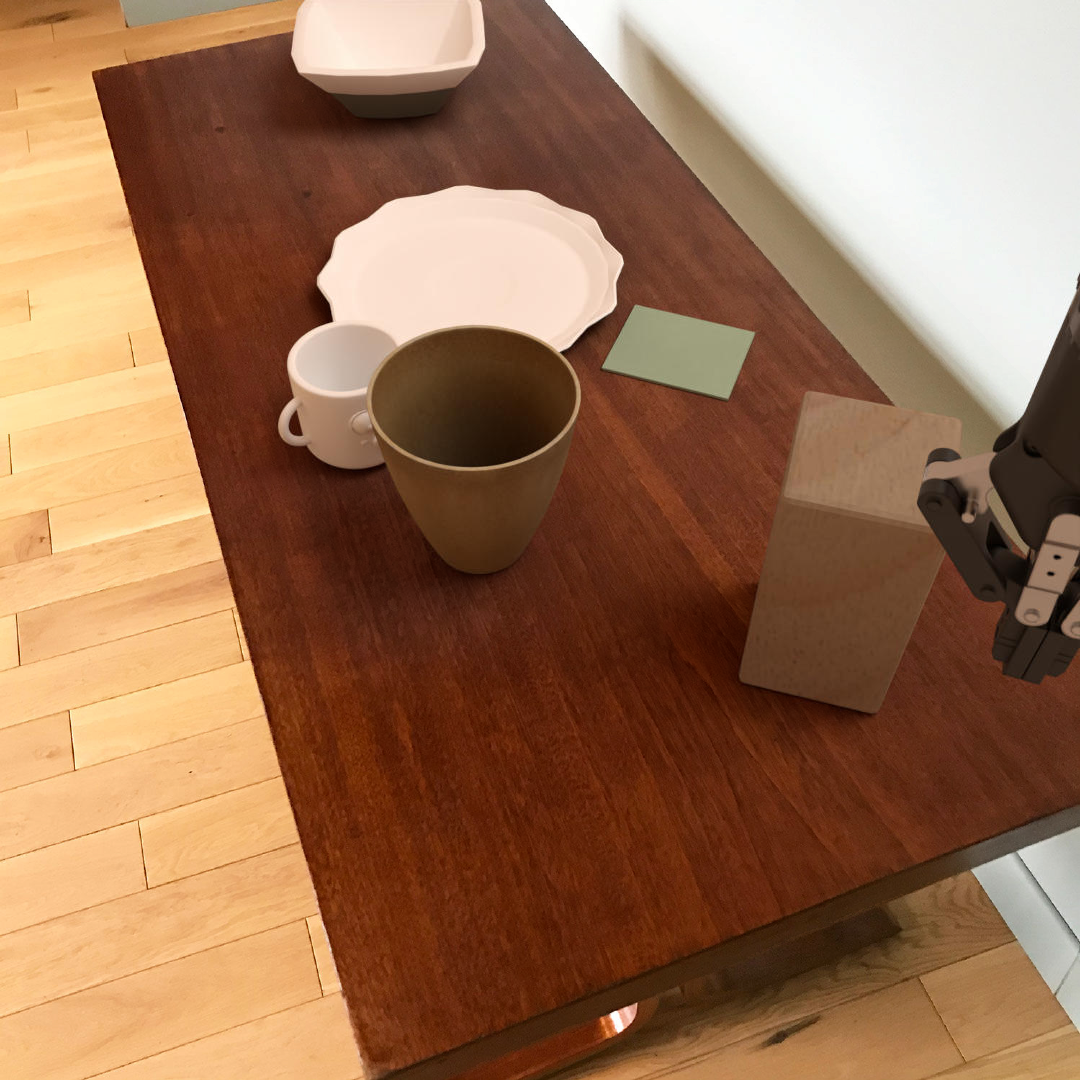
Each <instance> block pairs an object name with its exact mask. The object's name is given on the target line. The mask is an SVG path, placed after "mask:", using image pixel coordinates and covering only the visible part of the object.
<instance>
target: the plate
mask: <svg viewBox="0 0 1080 1080" xmlns="http://www.w3.org/2000/svg"><path fill="white" fill-rule="evenodd" d="M624 266H625V263H624V259H623V255H622V254H621V253H620V252H619V251H618V250H617V249H616V248H615V247H614V246H613V245H612V244H611V243H610V242H609V241H608V240H607V239H606V238H605V236H604V234H603V231H602V229H601V227H600V226H599V224H598V221H597V220H596V219H595V218H593V217H592V216H591V215H589V214H587V213H585V212H582V211H578V210H576V209H573V208H569V207H568V206H567V207H566V206H563V205H561V204H559V203H558V202H556V201H554V200H552V199H551V198H549V197H546V196H545V195H543V194H542V193H540V192H537V191H532V190H528V189H492V188H488V187H487V188H486V187H481V186H480V187H479V186H474V185H455V186H452V187H451V186H450V187H448V188H445V189H442V190H438V191H434V192H432V193H428V194H423V195H414V196H408V197H400V198H395V199H393V200H390V201H388V202H386V203H384V204H383V205H382V206H380V208H378V209H377V210H376V211H374V213H372V214H371V215H369V216H368V217H367V218H365V219H364V220H361V221H360V222H358V223H355V224H354V225H352V226H350V227H348V228H346V229H344V230H342V231H340V233H339V234H338V235H337V236H336V237H335V238H334V242H333V247H332V251H331V255H330V258H329V259H328V261H327V262H326V263H325V265H324V267H323V268H322V270H321V271H320V272H319V273H318V275H317V276H316V285H317V286H316V287H317V288H318V290H319V291H320V293H321V295H323V297H324V298H325V300H326V301H327V303H328V305H329V307H330V311H331V317H332V322H337V321H343V320H364V321H370V322H374V323H378V324H380V325H383V326H385V327H387V328H389V329H391V330H392V331H393V332H395V333H396V334H397V335H398V336H399V337H400V339H401V340H402V342H403V343H405V342H407V341H409V340H411V339H413V338H415V337H417V336H420V335H422V334H425V333H428V332H431V331H434V330H438V329H443V328H448V327H455V326H463V325H488V326H498V327H503V328H508V329H513V330H517V331H520V332H524V333H527V334H530V335H532V336H534V337H536V338H539V339H541V340H542V341H544V342H546V343H548V344H549V345H550V346H552V347H553V348H554V349H556V350H557V351H558V352H559V353H561V354H562V353H563V352H565V351H567V350H569V349H571V348H572V346H573V345H574V344H575V343H576V342H577V341H578V340H579V339H580V337H582V335H583V334H584V333H585V332H586V331H587V330H588V329H589V328H591V327H593V326H594V325H596V324H598V323H599V322H600V321H601V320H604V319H605V318H607V317H609V316H610V315H612V314H613V313H614V311H615V309H616V308H617V305H618V298H617V297H618V296H617V282H618V279H619V277H620V274H621V272H622V270H623V267H624Z"/></svg>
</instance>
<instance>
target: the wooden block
mask: <svg viewBox="0 0 1080 1080" xmlns="http://www.w3.org/2000/svg"><path fill="white" fill-rule="evenodd" d="M962 439H963V423H962V420H961V419H959V418H957V417H952V416H948V415H942V414H937V413H931V412H926V411H920V410H916V409H911V408H904V407H899V406H895V405H889V404H884V403H879V402H873V401H868V400H863V399H857V398H852V397H847V396H842V395H837V394H829V393H824V392H819V391H815V390H808V391H806V392H805V393H804V394H803V395H802V396H801V399H800V403H799V408H798V412H797V417H796V421H795V424H794V430H793V433H792V438H791V443H790V447H789V450H788V451H789V452H788V455H787V460H786V464H785V468H784V472H783V477H782V481H781V482H782V483H781V486H780V488H779V489H780V490H779V494H778V499H777V503H776V507H775V511H774V516H773V519H772V524H771V529H770V533H769V537H768V541H767V546H766V550H765V555H764V558H763V563H762V568H761V571H760V576H759V580H758V583H757V588H756V589H757V590H756V594H755V597H754V603H753V607H752V612H751V616H750V621H749V625H748V626H749V627H748V631H747V635H746V641H745V645H744V649H743V655H742V657H741V658H742V659H741V664H740V668H739V672H738V677H739V680H740V682H741V683H742V684H746V685H750V686H754V687H758V688H762V689H767V690H770V691H775V692H780V693H783V694H788V695H791V696H796V697H800V698H804V699H808V700H813V701H817V702H821V703H825V704H828V705H834V706H838V707H841V708H846V709H850V710H853V711H859V712H863V713H867V714H870V715H872V714H876V713H878V712H879V710H880V709H881V707H882V705H883V702H884V699H885V697H886V695H887V692H888V690H889V688H890V685H891V683H892V681H893V679H894V676H895V674H896V671H897V669H898V667H899V664H900V662H901V660H902V657H903V655H904V652H905V650H906V649H907V646H908V643H909V641H910V638H911V636H912V633H913V631H914V629H915V626H916V624H917V622H918V620H919V618H920V615H921V613H922V610H923V608H924V606H925V603H926V600H927V598H928V596H929V593H930V592H931V589H932V587H933V583H934V582H935V579H936V577H937V575H938V572H939V570H940V568H941V565H942V563H943V561H944V558H945V556H946V554H947V553H946V551H945V549H944V548H943V546H942V545H941V543H940V541H939V540H938V538H937V537H936V535H935V533H934V532H933V530H932V529H931V527H930V525H929V524H928V522H927V521H926V519H925V517H924V516H923V514H922V513H921V511H920V510H919V508H918V506H917V499H918V495H919V491H920V487H921V483H922V479H923V475H924V471H925V467H926V463H927V459H928V455H929V454H930V452H931V451H933V450H935V449H937V448H949V449H952V450H954V451H956V452H957V453H958V454H959V455H960V456H961V453H962V452H961V451H962Z"/></svg>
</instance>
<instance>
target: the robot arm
mask: <svg viewBox="0 0 1080 1080" xmlns="http://www.w3.org/2000/svg"><path fill="white" fill-rule="evenodd" d="M1076 281H1077V283H1076V287H1075V293H1074V295H1073V298H1072V299H1071V302H1070V305H1069V307H1068V309H1067V312H1066V314H1065V316H1064V319H1063V322H1062V323H1061V326H1060V328H1059V330H1058V333H1057V334H1056V338H1055V340H1054V342H1053V345H1052V347H1051V349H1050V352H1049V354H1048V356H1047V359H1046V361H1045V364H1044V366H1043V368H1042V370H1041V373H1040V375H1039V377H1038V379H1037V382H1036V385H1035V387H1034V390H1033V392H1032V394H1031V396H1030V399H1029V401H1028V403H1027V406H1026V408H1025V410H1024V412H1023V414H1022V416H1021V417H1020V418H1019V419H1018V420H1017V421H1016V422H1015V423H1014V424H1011V426H1009V427H1008V428H1006V429H1005V430H1003V431H1002V432H1001V433H1000V434H999V435H998V436H997V438H996V439H995V441H994V443H993V446H992V451H988V452H983V453H980V454H976V455H971V456H967V457H962V456H961V454H960V455H959V454H958V453H957V452H956V451H954V450H952V449H949V448H937V449H935V450H933V451H931V452H930V454H929V455H928V459H927V463H926V467H925V471H924V475H923V479H922V483H921V487H920V491H919V495H918V499H917V506H918V508H919V510H920V511H921V513H922V514H923V516H924V517H925V519H926V521H927V522H928V524H929V525H930V527H931V529H932V530H933V532H934V533H935V535H936V537H937V538H938V540H939V541H940V543H941V545H942V546H943V548H944V549H945V551H946V554H947V555H948V557H949V559H950V561H951V562H952V564H953V566H954V567H955V568H956V570H957V571H958V573H959V575H960V577H961V578H962V580H963V581H964V583H965V585H966V586H967V588H968V589H969V591H970V593H971V594H972V595H973V597H974V598H975V599H977V600H979V601H982V602H985V603H996V602H997V603H998V602H1001V603H1003V604H1005V606H1004V609H1003V611H1002V612H1001V614H1000V617H999V619H998V621H997V622H996V625H995V630H994V636H993V641H992V642H993V643H992V648H991V653H992V659H993V660H994V661H997V662H1001V663H1002V668H1001V675H1003V676H1006V677H1010V678H1014V679H1016V680H1020V681H1023V682H1027V683H1030V684H1034V685H1037V686H1040V684H1041V683H1042V682H1043V680H1044V678H1045V676H1050V677H1052V678H1057V677H1059V676H1061V675H1062V674H1064V673H1066V671H1067V670H1068V668H1069V666H1070V664H1072V661H1074V658H1075V656H1076V655H1077V653H1078V651H1079V650H1080V272H1079V273H1078V276H1077V278H1076ZM993 489H995V491H996V493H997V495H998V497H999V500H1000V502H1001V503H1002V505H1003V507H1004V509H1005V511H1006V513H1007V515H1008V517H1009V519H1010V520H1011V523H1012V524H1013V526H1014V528H1015V530H1016V532H1017V534H1018V536H1019V538H1020V539H1021V540H1022V542H1023V543H1024V544H1025V545H1026V546H1027V547H1028V550H1027V552H1026V555H1025V557H1022V556H1020V555H1019V554H1017V553H1015V552H1013V551H1014V549H1013V548H1014V546H1013V543H1012V541H1011V540H1010V538H1009V536H1008V535H1007V533H1006V531H1005V529H1004V528H1003V526H1002V524H1001V523H1000V521H999V519H998V517H997V516H996V514H995V513H994V510H993V509H992V507H991V505H990V499H991V494H992V490H993Z"/></svg>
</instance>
